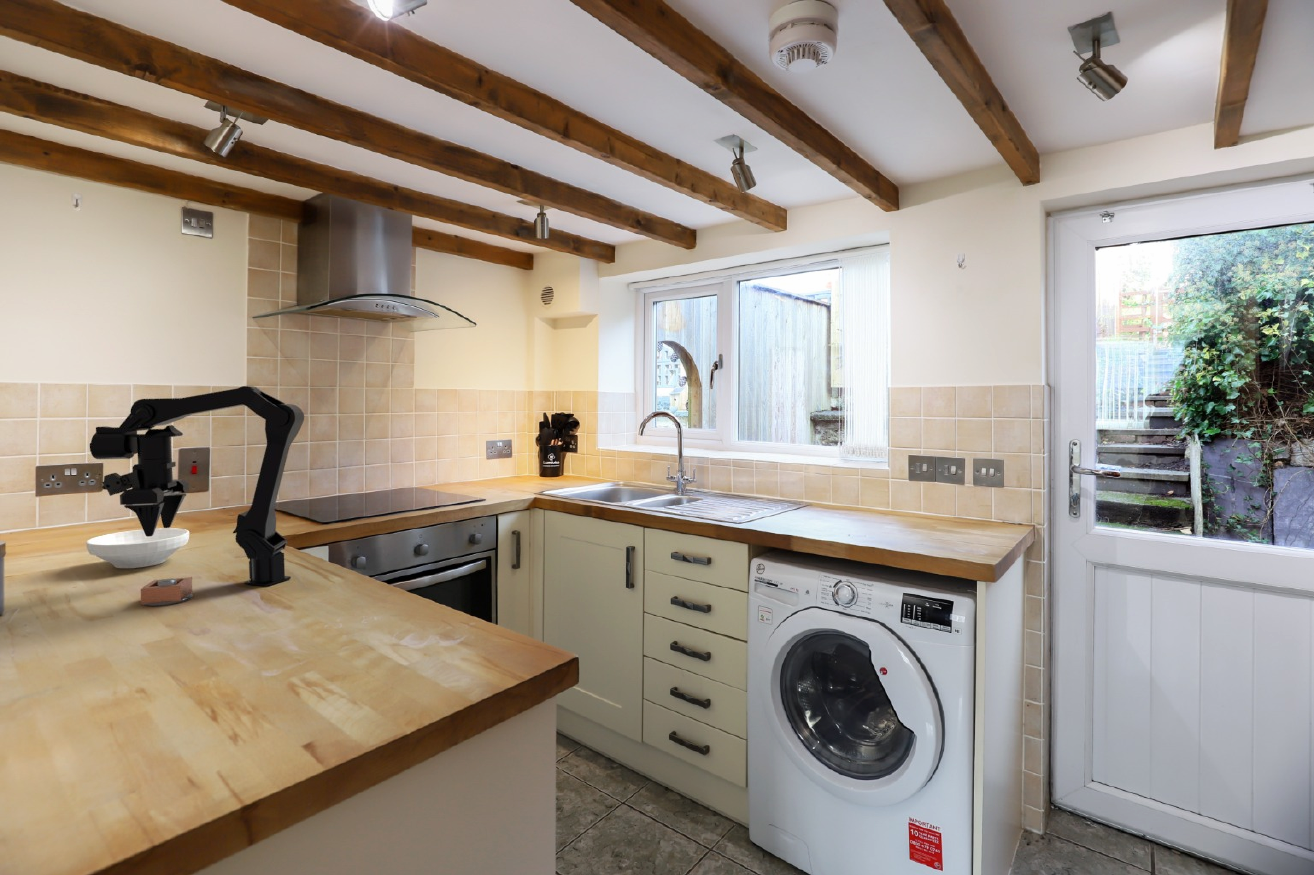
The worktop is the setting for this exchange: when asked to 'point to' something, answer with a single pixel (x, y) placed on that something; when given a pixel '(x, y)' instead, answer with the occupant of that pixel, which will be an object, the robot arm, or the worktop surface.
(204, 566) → the worktop surface
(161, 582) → the disc with centre peg
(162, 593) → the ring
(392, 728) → the worktop surface
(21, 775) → the worktop surface
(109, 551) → the bowl
